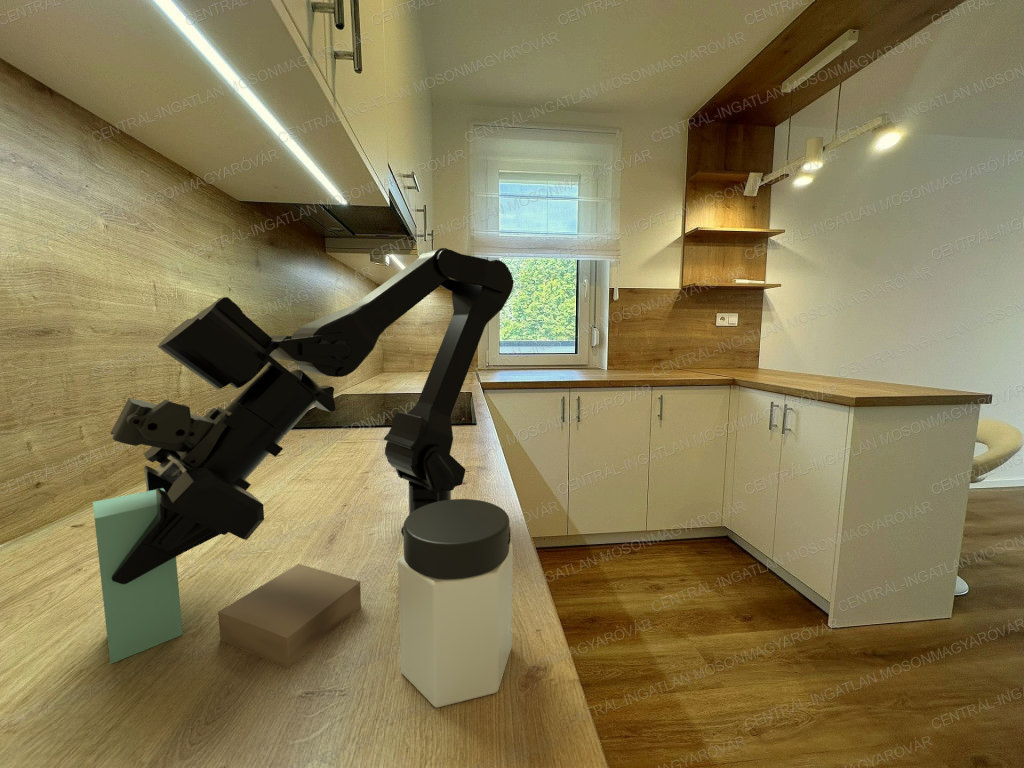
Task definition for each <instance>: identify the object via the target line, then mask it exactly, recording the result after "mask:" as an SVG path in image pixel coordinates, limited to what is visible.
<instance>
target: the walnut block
mask: <svg viewBox="0 0 1024 768" xmlns="http://www.w3.org/2000/svg"><path fill="white" fill-rule="evenodd" d="M361 595H362V594H361V581H359V580H356V579H352V578H349V577H347V576H346V577H345V576H342V575H338V574H336V573H331V572H328V571H325V570H321V569H317V568H314V567H310V566H307V565H303V564H300V563H298V564H296V565H294V566H293V567H291V568H289V569H287V570H286V571H284V572H282V573H281V574H279V575H277V576H276V577H274V578H273V579H270V580H269V581H267V582H266V583H264V584H262V585H261V586H259V587H258V588H255V589H254V590H252V591H251V592H249V593H247V594H245V595H243V596H242V597H240V598H239V599H237V600H235V601H234V602H232V603H231V604H229V605H227V606H226V607H224V608H222V609H220V610H218V611H217V615H218V627H219V641H221V642H223V643H226V644H228V645H230V646H233V647H236V648H237V649H240V650H243V651H245V652H247V653H250V654H252V655H255V656H257V657H259V658H261V659H265V660H266V661H270V662H272V663H274V664H277V665H280V666H281V667H284V668H285V669H288V670H289V669H290V668H291V667H293V666H294V665H295V664H296V663H298V661H301V659H302V658H303V657H305V655H306V654H308V653H309V652H310V651H311V650H312V649H314V648H315V647H316V646H317V645H319V644H320V643H321V642H322V641H323V640H324V639H325V638H327V637H328V636H329V635H330V634H332V632H334V631H335V630H336V629H337V628H338V627H340V626H342V625H341V624H343V623H345V622H346V621H347V620H348V619H349V618H350V617H351V616H353V614H355V613H356V612H357V611H359V609H360V608H362V598H361V597H362V596H361Z"/></svg>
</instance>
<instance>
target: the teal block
mask: <svg viewBox="0 0 1024 768" xmlns="http://www.w3.org/2000/svg"><path fill="white" fill-rule="evenodd" d="M156 490H157V489H156ZM156 490H151V491H146V490H145V491H141V492H137V493H131V494H125V495H122V496H116V497H112V498H105V499H100V500H97V501H92V508H93V509H92V510H93V518H94V527H95V528H94V529H95V536H96V545H97V546H96V547H97V555H98V564H99V573H100V584H101V591H102V601H103V608H104V620H105V628H106V637H107V638H106V639H107V647H108V656H109V665H113V664H114V663H116V662H119V661H121V660H124V659H126V658H129V657H132V656H134V655H136V654H137V655H138V654H139V653H141V652H144V651H146V650H148V649H150V648H154V647H156V646H158V645H161V644H164V643H166V642H169V641H171V640H174V639H175V638H178V637H180V636H183V624H182V623H183V622H182V612H181V601H180V589H179V575H178V565H177V557H175V558H173V559H171V560H169V561H167V562H165V563H164V564H162V565H160V566H158V567H156V568H154V569H153V570H151V571H149V572H147V573H145V574H144V575H142V576H140V577H138V578H136V579H134V580H133V581H131V582H129V583H127V584H120V583H117V582H114V581H112V575H113V574H114V573H115V571H116V570H117V568H118V567H119V565H120V564H121V563H122V561H123V560H124V558H125V557H126V556H127V554H128V553H129V552H130V550H131V549H132V548H133V546H134V545H135V544H136V542H137V541H138V540H139V538H140V537H141V536H142V534H143V533H144V532H145V530H146V529H147V528H148V526H149V525H150V524H151V522H152V521H153V520H154V518H155V517H156V515H157V512H158V510H157V498H156ZM161 490H163V491H165V490H164V489H163V488H161Z"/></svg>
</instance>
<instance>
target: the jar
mask: <svg viewBox="0 0 1024 768" xmlns="http://www.w3.org/2000/svg"><path fill="white" fill-rule="evenodd" d="M402 527H403V533H404V534H403V533H402V534H403V554H402V555H401V556H400V557H399V558H398V560H397V567H398V568H397V575H398V576H397V577H398V578H397V579H398V614H399V615H398V616H399V617H398V618H399V619H398V620H399V621H398V623H399V657H400V659H399V660H400V661H399V662H400V663H399V665H400V673H401V674H402V676H404V677H405V679H407V680H408V681H409V682H410V683H411V684H412V685H413V686H414V687H415V688H416V690H418V691H419V693H420V694H421V695H422V696H423V697H424V698H426V700H427V701H428V702H429V703H430V704H431V705H432V706H433V707H434V708H441V707H445V706H449V705H452V704H458V703H461V702H464V701H470V700H473V699H478V698H481V697H482V698H483V697H485V696H489V695H492V694H493V695H494V694H496V693H498V691H499V689H500V686H501V683H502V680H503V676H504V672H505V669H506V667H507V663H508V661H509V658H510V654H511V650H512V648H513V647H512V641H513V640H512V639H513V638H512V637H513V636H512V635H513V631H512V630H513V553H514V552H513V551H514V550H513V543H512V542H511V526H510V516H509V515H508V513H507V512H506V511H505V510H504V509H503V508H501V507H500V506H498V505H496V504H494V503H491V502H489V501H484V500H480V499H479V500H478V499H471V498H470V499H469V498H455V499H453V498H451V500H444V501H438V502H434V503H431V504H428V505H425V506H422V507H420V508H418V509H416V510H415V511H413V512H412V513H411V514H410V515H407V517H406V518H405V520H404V522H403V525H402Z"/></svg>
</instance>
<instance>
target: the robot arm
mask: <svg viewBox="0 0 1024 768" xmlns="http://www.w3.org/2000/svg"><path fill="white" fill-rule="evenodd" d="M438 287H440V288H441V289H444V290H445V291H449V292H451V300H452V301H451V302H452V309H453V314H452V317H451V319H450V321H449V323H448V326H447V328H446V332H445V334H444V336H443V339H442V341H441V343H440V345H439V349H438V351H437V354H436V355H435V359H434V360H433V364H432V366H431V368H430V372H429V374H428V376H427V378H426V380H425V383H424V386H423V388H422V390H421V393H420V396H419V398H418V401H417V402H416V404H415V405H414V407H412V408H411V409H410V410H409V411H408V412H407V413H406V412H402V411H397V412H396V413H395V415H394V416H393V418H392V419H393V420H392V423H391V426H390V429H389V431H388V432H387V433H386V435H385V436H384V437H383V440H384V441H386V445H385V448H384V455H385V457H386V460H387V462H388V463H389V465H390V466H391V468H394V469H395V471H396V473H397V476H398V478H399V479H404V480H406V481H408V514H409V515H410V514H411V513H412V512H413V511H415V510H416V509H418V508H420V507H422V506H425V505H428V504H431V503H434V502H438V501H444V500H452V491H454V489H455V488H456V487H458V486H459V487H460V486H461V485H463V482H464V478H465V474H466V468H465V467H464V466H463V465H461V463H460V462H458V461H457V460H456V459H455V458H454V456H452V455H451V451H452V447H453V443H454V434H453V423H452V415H453V412H454V410H455V406H456V404H457V401H458V399H459V397H460V393H461V391H462V388H463V386H464V383H465V380H466V378H467V376H468V372H469V370H470V368H471V364H472V362H473V360H474V358H475V355H476V353H477V350H478V347H479V345H480V341H481V338H482V336H483V333H484V330H485V328H486V326H487V325H488V323H489V322H490V321H491V320H492V319H494V317H496V315H498V314H499V312H501V311H502V310H503V308H504V307H505V305H506V303H507V301H508V300H509V298H510V295H511V294H512V292H513V288H514V278H513V275H512V272H511V271H510V269H509V267H508V266H507V265H506V263H504V262H503V261H502V260H500V259H499V260H498V259H494V260H489V259H487V258H483V257H476V256H474V255H473V256H472V255H467V254H463V253H460V252H457V251H455V250H452V249H449V248H446V247H441V248H436V249H432V250H428V251H425V252H422V253H421V254H420V255H419V257H418V258H417V259H416V260H415V261H413V262H411V263H410V264H408V265H407V266H405V268H403V269H402V270H400V271H399V272H398V273H396V274H395V275H393V276H392V277H390V278H389V279H388V280H386V281H385V282H383V283H381V284H380V285H379V286H378V287H376V288H375V289H373V290H372V291H371V292H370V293H368V294H367V295H365V296H364V297H363V298H361V299H359V300H358V301H357V302H355V303H354V304H352V305H351V304H350V305H349V306H348V307H346V308H342V309H339V310H337V311H334V312H331V313H329V314H326V315H324V316H321V317H319V318H318V319H316V320H313V321H310V322H309V323H306V324H303V325H302V326H300V327H298V329H296V330H295V332H293V334H292V335H285V334H284V335H274V334H273V335H272V336H270V335H269V333H266V332H265V331H264V330H263V329H262V328H261V327H259V325H257V324H256V323H255V322H254V321H253V320H252V319H251V318H249V317H248V316H247V315H246V314H245V313H244V311H243V310H242V309H241V308H240V306H238V305H237V303H235V302H234V300H232V299H230V298H229V297H228V296H223V297H219V298H218V299H216V300H215V301H214V302H213V303H211V305H208V306H207V307H205V308H204V309H203V310H201V311H200V312H198V313H197V314H196V315H194V316H193V317H192V318H187V319H185V320H183V322H182V323H180V324H179V325H178V326H177V327H175V329H173V330H172V331H170V332H169V334H167V335H166V336H165V337H164V338H163V339H162V340H161V341H160V342H159V344H158V345H157V348H159V349H160V350H162V351H163V352H164V353H165V354H167V355H168V356H169V357H171V358H172V359H173V360H175V361H176V362H178V363H179V364H181V366H184V367H185V368H187V370H189V371H191V373H193V374H195V375H197V377H199V378H200V379H202V380H204V381H205V382H206V383H207V384H209V385H210V386H212V387H213V388H214V389H216V390H221V389H223V388H226V387H227V386H229V385H230V386H232V387H233V388H234V389H239V388H243V386H245V385H247V384H248V383H249V382H250V381H252V380H253V379H254V380H253V381H252V382H250V383H249V385H247V387H245V388H244V390H242V391H241V393H239V394H238V395H237V396H236V397H235V398H234V399H233V401H231V402H230V403H229V404H228V405H227V406H226V407H225V408H223V407H220V406H218V407H217V408H216V407H214V408H212V409H210V410H209V411H208V412H207V413H206V414H205V415H204V416H201V415H198V414H194V413H191V407H190V406H188V405H186V404H180V403H176V402H173V401H170V400H169V399H164V400H162V401H161V402H158V404H155V403H152V402H149V401H144V400H140V399H136V398H131V397H130V398H127V400H126V402H125V404H124V406H123V408H122V410H121V412H120V414H119V415H118V418H117V419H116V422H115V423H114V425H113V427H112V430H111V431H110V435H112V439H113V441H115V442H118V443H121V444H124V445H130V446H134V447H138V446H140V445H144V446H148V447H150V448H148V449H147V450H146V451H145V452H144V453H143V456H144V457H145V459H146V460H148V461H149V462H151V463H155V462H158V463H159V465H157V467H155V468H152V467H150V466H148V465H144V467H143V472H144V477H145V486H146V490H145V492H146V491H151V490H156V489H157V490H156V498H157V510H158V512H157V515H156V517H155V518H154V520H153V521H152V522H151V524H150V525H149V526H148V528H147V529H146V530H145V532H144V533H143V534H142V536H141V537H140V538H139V540H138V541H137V542H136V544H135V545H134V546H133V548H132V549H131V550H130V552H129V553H128V554H127V556H126V557H125V558H124V560H123V561H122V563H121V564H120V565H119V567H118V568H117V570H116V571H115V573H114V574H113V575H112V581H114V582H117V583H120V584H127V583H129V582H131V581H133V580H134V579H136V578H138V577H140V576H142V575H144V574H145V573H147V572H149V571H151V570H153V569H154V568H156V567H158V566H160V565H162V564H164V563H165V562H167V561H169V560H171V559H173V558H175V557H176V558H177V557H178V556H180V555H182V554H185V552H188V551H190V550H192V549H194V548H196V547H197V546H199V545H202V544H204V543H205V542H206V543H207V542H208V541H211V540H212V539H214V538H216V537H218V536H220V535H223V536H225V535H226V536H227V534H228V533H230V534H231V535H234V536H235V537H237V538H240V539H242V540H246V541H247V540H248V539H249V538H250V537H251V536H252V535H253V533H255V531H256V530H257V528H259V526H260V525H261V524H262V523H263V522H264V520H265V513H264V511H265V510H264V504H263V502H261V501H260V500H259V499H258V498H256V496H254V495H253V494H252V493H251V492H250V491H247V490H248V489H249V488H250V487H251V485H252V484H251V483H250V482H249V481H247V479H248V477H250V475H252V473H253V472H254V471H255V470H256V469H257V468H258V466H259V465H260V464H261V463H262V462H263V461H264V460H265V459H266V457H267V456H268V455H269V454H270V455H272V456H273V457H275V458H276V457H277V456H278V455H279V454H280V453H281V452H282V451H283V450H284V448H283V447H282V446H281V445H279V443H280V442H281V441H282V440H283V439H284V438H285V436H287V435H288V433H290V431H291V430H292V429H293V428H294V427H295V426H296V425H297V424H298V423H299V421H300V420H301V419H302V418H303V417H304V416H305V414H306V413H307V412H308V411H309V410H310V409H311V408H312V406H313V405H314V407H316V408H317V409H319V410H322V411H327V412H330V413H334V412H335V411H336V409H337V408H336V402H335V397H334V392H335V387H334V386H331V385H326V384H324V385H319V384H318V383H317V382H316V381H314V379H312V378H311V377H310V376H309V375H307V374H306V373H309V374H313V375H320V376H325V377H326V376H327V377H331V378H333V377H334V378H342V377H346V376H348V375H350V374H352V373H354V372H355V371H356V370H357V369H358V368H359V366H361V365H362V363H363V362H364V361H365V360H366V359H367V357H369V355H370V354H371V353H372V352H373V350H374V348H375V347H376V344H377V342H378V341H379V338H380V337H381V335H382V334H383V333H384V332H385V331H386V330H387V328H389V327H390V326H391V325H393V324H394V323H395V322H397V321H398V320H399V319H400V318H401V317H402V316H404V315H405V314H406V313H407V312H408V311H410V310H411V309H413V308H414V307H415V306H416V305H417V304H419V303H420V302H421V301H422V300H424V299H425V298H426V297H428V296H429V295H430V294H431V293H432V292H434V291H435V290H436V289H438ZM276 359H278V360H286V361H291V362H294V364H295V365H296V366H297V367H298V368H300V369H295V370H291V371H290V370H288V369H287V368H286V367H284V366H283V365H282V364H281V363H279V361H277V360H276ZM265 367H266V368H265ZM264 368H265V369H264ZM263 369H264V370H263ZM262 370H263V371H262ZM261 371H262V372H261ZM260 372H261V373H260ZM305 372H306V373H305ZM259 373H260V374H259ZM258 374H259V375H258ZM257 375H258V376H257ZM256 376H257V377H256ZM161 488H163V489H164V490H165V491H163V490H161ZM409 515H408V516H409ZM400 531H401V534H403V535H404V533H403V526H402V527H401V530H400Z"/></svg>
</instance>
